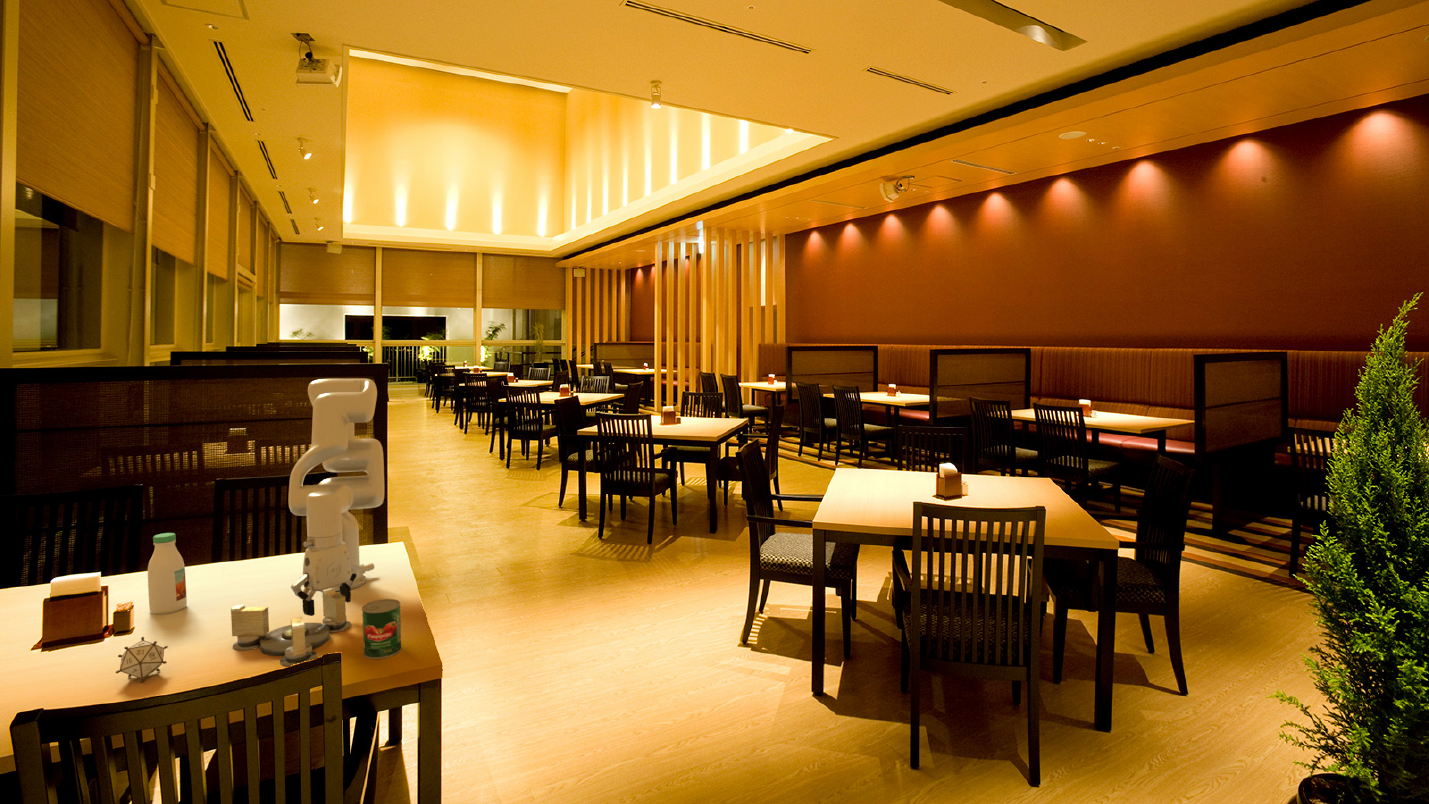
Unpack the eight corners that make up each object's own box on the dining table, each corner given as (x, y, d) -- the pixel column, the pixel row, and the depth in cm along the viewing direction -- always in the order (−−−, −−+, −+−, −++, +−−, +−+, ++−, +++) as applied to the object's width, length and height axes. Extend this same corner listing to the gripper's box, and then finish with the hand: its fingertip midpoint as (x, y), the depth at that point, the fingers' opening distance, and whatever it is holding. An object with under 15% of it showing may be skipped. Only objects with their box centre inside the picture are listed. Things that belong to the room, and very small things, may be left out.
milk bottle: (166, 616, 178) (162, 539, 177) (141, 613, 180) (137, 537, 178) (194, 605, 186) (190, 531, 184) (170, 602, 187) (166, 530, 186)
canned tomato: (394, 641, 165) (392, 596, 164) (407, 652, 160) (405, 605, 159) (358, 651, 160) (356, 604, 159) (370, 662, 154) (368, 614, 153)
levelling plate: (316, 613, 181) (315, 600, 181) (381, 631, 171) (381, 617, 170) (225, 646, 161) (224, 632, 161) (293, 669, 151) (292, 653, 150)
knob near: (317, 624, 173) (316, 592, 172) (338, 618, 177) (337, 586, 176) (330, 632, 168) (329, 598, 168) (352, 625, 173) (351, 592, 172)
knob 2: (313, 659, 154) (312, 622, 153) (286, 665, 151) (284, 628, 150) (310, 648, 160) (309, 612, 159) (284, 653, 157) (282, 617, 156)
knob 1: (228, 646, 160) (226, 611, 159) (242, 637, 165) (240, 602, 164) (260, 645, 160) (258, 610, 160) (272, 636, 166) (271, 602, 165)
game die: (140, 691, 148) (141, 645, 152) (178, 676, 148) (178, 631, 152) (103, 689, 140) (104, 641, 144) (143, 674, 140) (144, 626, 144)
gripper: (301, 552, 163) (304, 623, 164) (366, 534, 178) (368, 599, 180) (280, 548, 166) (283, 617, 167) (346, 530, 181) (348, 594, 183)
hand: (327, 607), depth 174 cm, fingers open, 9 cm apart
